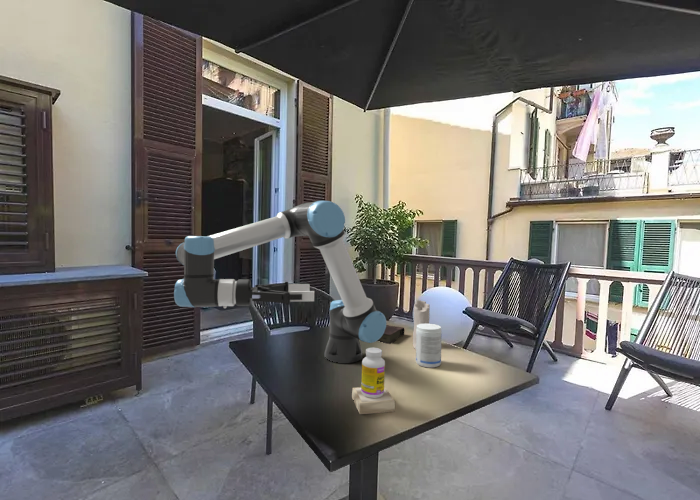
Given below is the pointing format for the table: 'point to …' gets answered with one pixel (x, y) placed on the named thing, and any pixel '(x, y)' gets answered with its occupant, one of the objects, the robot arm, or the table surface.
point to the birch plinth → (373, 402)
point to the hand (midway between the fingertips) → (311, 292)
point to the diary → (391, 334)
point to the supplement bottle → (373, 373)
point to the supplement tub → (428, 345)
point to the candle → (420, 316)
